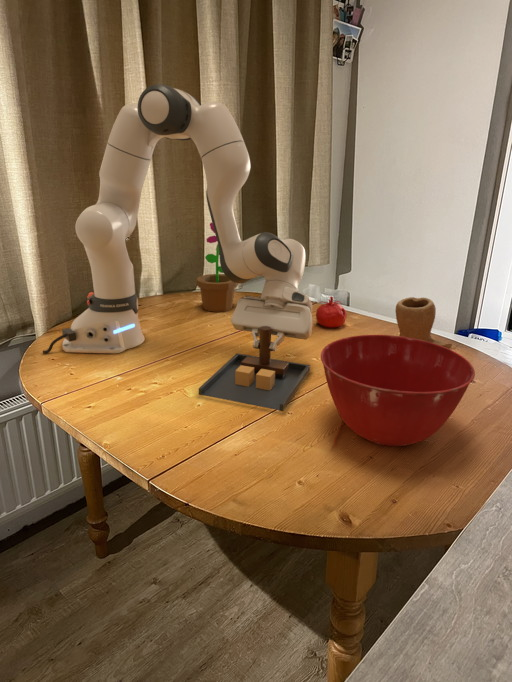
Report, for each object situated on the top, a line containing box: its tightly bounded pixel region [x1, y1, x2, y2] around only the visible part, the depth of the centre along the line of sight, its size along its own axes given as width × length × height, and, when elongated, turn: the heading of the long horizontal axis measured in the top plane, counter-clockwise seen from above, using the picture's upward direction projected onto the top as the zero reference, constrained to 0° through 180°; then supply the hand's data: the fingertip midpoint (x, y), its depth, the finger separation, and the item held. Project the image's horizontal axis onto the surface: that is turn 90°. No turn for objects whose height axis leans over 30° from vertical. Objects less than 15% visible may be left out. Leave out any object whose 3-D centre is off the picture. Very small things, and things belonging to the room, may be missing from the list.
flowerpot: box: [196, 221, 239, 313], centre depth 170 cm, size 14×14×30 cm
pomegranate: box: [315, 295, 348, 329], centre depth 158 cm, size 10×10×9 cm
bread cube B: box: [235, 365, 254, 387], centre depth 118 cm, size 4×4×4 cm
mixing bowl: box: [320, 334, 476, 447], centre depth 99 cm, size 28×28×15 cm
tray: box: [198, 352, 311, 412], centre depth 119 cm, size 22×20×2 cm
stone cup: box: [395, 296, 453, 350], centre depth 138 cm, size 15×12×15 cm
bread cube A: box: [256, 369, 275, 391], centre depth 116 cm, size 4×4×4 cm
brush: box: [241, 326, 289, 378], centre depth 121 cm, size 11×4×12 cm, turn 69°
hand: (264, 349), depth 120 cm, fingers closed on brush, 3 cm apart
